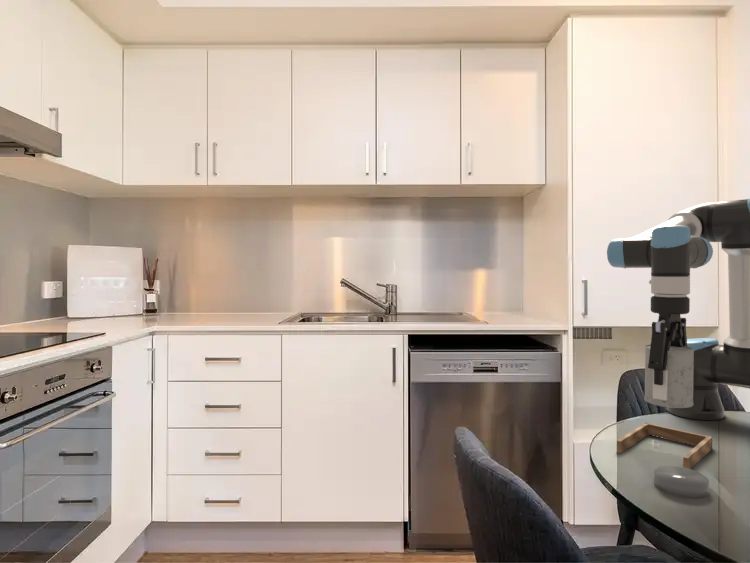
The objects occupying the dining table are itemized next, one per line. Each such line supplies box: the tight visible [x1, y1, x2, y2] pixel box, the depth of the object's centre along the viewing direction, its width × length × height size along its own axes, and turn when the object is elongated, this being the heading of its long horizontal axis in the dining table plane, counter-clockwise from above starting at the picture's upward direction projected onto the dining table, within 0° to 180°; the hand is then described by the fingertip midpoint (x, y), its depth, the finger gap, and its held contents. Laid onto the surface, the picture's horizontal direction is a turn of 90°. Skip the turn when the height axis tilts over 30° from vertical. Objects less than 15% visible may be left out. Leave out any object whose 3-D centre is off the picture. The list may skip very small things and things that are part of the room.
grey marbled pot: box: [643, 343, 694, 408], centre depth 113 cm, size 10×10×12 cm
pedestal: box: [653, 465, 710, 499], centre depth 108 cm, size 10×10×2 cm
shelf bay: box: [616, 422, 713, 470], centre depth 128 cm, size 19×16×3 cm
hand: (668, 394), depth 113 cm, fingers closed on grey marbled pot, 9 cm apart
